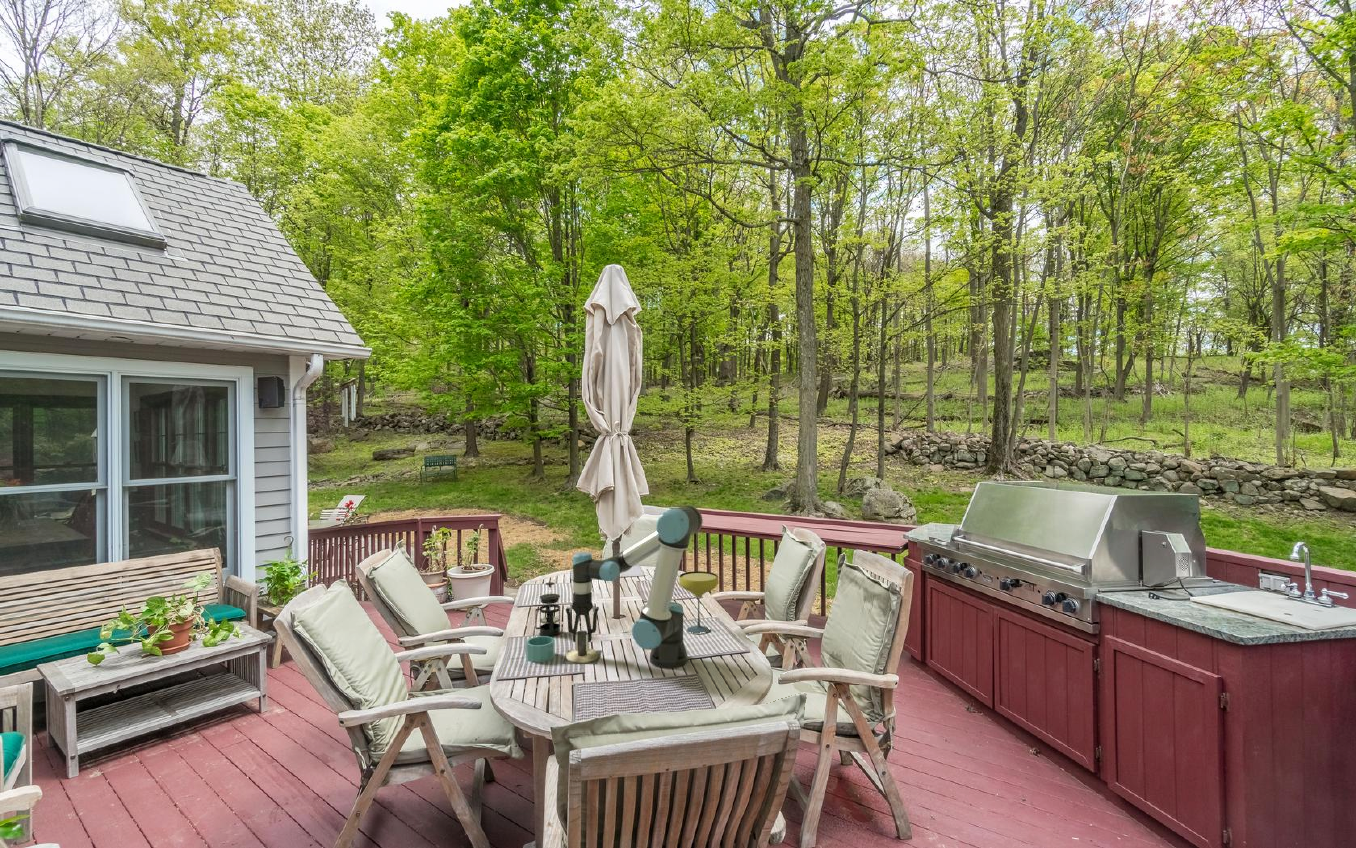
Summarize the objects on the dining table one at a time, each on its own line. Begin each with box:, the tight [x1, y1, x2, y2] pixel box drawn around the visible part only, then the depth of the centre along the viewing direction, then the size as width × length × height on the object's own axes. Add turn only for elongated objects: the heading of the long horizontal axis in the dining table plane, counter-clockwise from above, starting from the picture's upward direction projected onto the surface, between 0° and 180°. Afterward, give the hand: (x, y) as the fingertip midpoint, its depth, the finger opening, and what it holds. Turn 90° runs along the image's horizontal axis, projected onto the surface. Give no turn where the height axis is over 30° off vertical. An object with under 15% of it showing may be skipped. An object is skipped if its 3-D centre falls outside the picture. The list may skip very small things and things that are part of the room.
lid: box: [565, 630, 599, 663], centre depth 236 cm, size 13×13×10 cm
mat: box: [561, 649, 602, 665], centre depth 236 cm, size 14×14×1 cm
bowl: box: [525, 635, 556, 664], centre depth 236 cm, size 11×11×7 cm
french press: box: [534, 581, 561, 638], centre depth 264 cm, size 12×9×23 cm
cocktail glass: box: [678, 570, 719, 634], centre depth 268 cm, size 18×18×25 cm
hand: (582, 649), depth 236 cm, fingers closed on lid, 3 cm apart
